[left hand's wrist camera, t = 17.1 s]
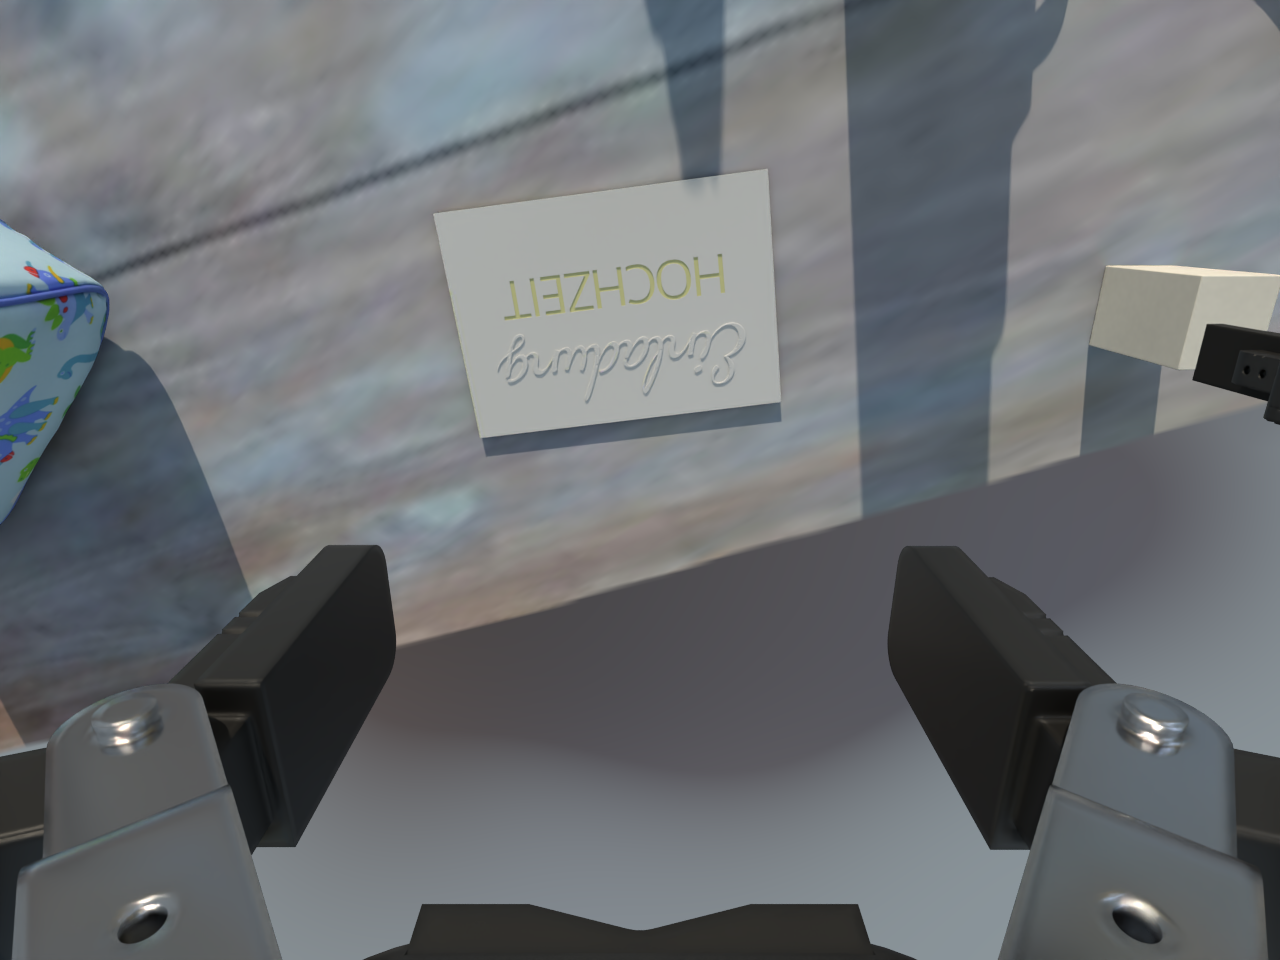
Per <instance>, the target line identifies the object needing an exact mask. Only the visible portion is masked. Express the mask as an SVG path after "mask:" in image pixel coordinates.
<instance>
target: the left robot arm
mask: <svg viewBox="0 0 1280 960" xmlns="http://www.w3.org/2000/svg"><path fill="white" fill-rule="evenodd" d="M395 652H396V632H395V625H394V617H393V610H392V602H391V595H390V588H389V580H388V573H387V566H386V560H385V556H384V553H383V550H382V549H381V547H380V546H378V545H328V546H326V547H324V548H323V549H322V550H321V551H320V552H319V553H318V554H317V555H316V557H315V558H314V559H313V560H312V561H311V562H310V563H309V564H308V565H307V566H306V567H305V568H304V569H303V570H302V571H301V572H300V573H299V574H298V575H297V576H290V577H288V578H286V579H284V580H282V581H281V582H279V583H277V584H275V585H273V586H272V587H270V588H268V589H266V590H264V591H262V592H261V593H259V594H258V595H257V596H256V597H255V598H254V599H253V600H252V601H251V602H250V603H249V604H248V605H247V606H246V607H245V608H244V609H243V610H242V611H241V612H240V613H239V617H235V618H234V619H233V620H232V621H231V622H230V623H229V624H228V625H227V626H225V627H224V628H223V629H222V634H217V635H216V636H215V637H214V638H213V639H212V640H211V641H210V642H209V643H208V644H207V645H206V646H205V647H204V648H203V649H202V650H201V651H200V652H199V653H198V654H197V655H196V656H195V657H194V658H193V659H192V660H191V661H190V662H189V663H188V664H187V665H186V666H185V667H184V668H183V669H182V670H181V671H180V672H179V673H178V674H177V675H176V676H175V677H174V678H173V679H172V680H171V681H170V682H169V683H168V684H155V685H147V686H142V687H137V688H134V689H130V690H126V691H123V692H120V693H117V694H114V695H112V696H109V697H107V698H104V699H102V700H100V701H98V702H96V703H94V704H92V705H90V706H88V707H86V708H84V709H83V710H81V711H80V712H78V713H76V714H75V715H74V716H72V717H71V718H69V719H68V720H67V721H66V722H64V723H63V724H62V725H61V726H60V727H59V728H58V729H57V730H56V731H55V733H54V734H53V735H52V736H51V738H50V740H49V742H48V744H47V748H42V749H38V750H32V751H27V752H22V753H17V754H12V755H7V756H2V757H0V960H282V957H281V954H280V951H279V947H278V944H277V941H276V937H275V934H274V930H273V927H272V924H271V920H270V917H269V914H268V910H267V907H266V904H265V900H264V897H263V894H262V890H261V887H260V883H259V880H258V877H257V873H256V870H255V867H254V863H253V860H252V856H251V855H252V854H253V852H254V850H255V849H256V847H296V845H297V843H298V841H299V840H300V838H301V836H302V834H303V832H304V830H305V829H306V827H307V825H308V823H309V821H310V819H311V818H312V816H313V814H314V812H315V810H316V809H317V807H318V805H319V803H320V801H321V799H322V798H323V796H324V794H325V792H326V790H327V788H328V787H329V785H330V783H331V781H332V779H333V778H334V776H335V774H336V772H337V770H338V768H339V767H340V765H341V763H342V761H343V759H344V757H345V756H346V754H347V752H348V750H349V748H350V747H351V745H352V743H353V741H354V739H355V737H356V736H357V734H358V732H359V730H360V728H361V726H362V725H363V723H364V721H365V719H366V717H367V715H368V714H369V712H370V710H371V708H372V706H373V705H374V703H375V701H376V699H377V697H378V695H379V694H380V692H381V690H382V688H383V686H384V685H385V683H386V681H387V679H388V677H389V675H390V673H391V670H392V667H393V664H394V659H395ZM888 655H889V661H890V666H891V669H892V672H893V675H894V677H895V679H896V681H897V682H898V684H899V686H900V688H901V690H902V691H903V693H904V695H905V697H906V699H907V701H908V702H909V704H910V706H911V708H912V710H913V711H914V713H915V715H916V717H917V719H918V720H919V722H920V724H921V726H922V727H923V729H924V731H925V733H926V735H927V737H928V738H929V740H930V742H931V744H932V746H933V747H934V749H935V751H936V753H937V755H938V756H939V758H940V760H941V762H942V764H943V765H944V767H945V769H946V771H947V773H948V774H949V776H950V778H951V780H952V782H953V783H954V785H955V787H956V789H957V791H958V792H959V794H960V796H961V798H962V800H963V801H964V803H965V805H966V807H967V809H968V810H969V812H970V814H971V816H972V818H973V819H974V821H975V823H976V825H977V827H978V828H979V830H980V832H981V834H982V836H983V837H984V839H985V841H986V843H987V845H988V846H989V848H990V849H991V850H1030V853H1029V857H1028V860H1027V863H1026V866H1025V870H1024V873H1023V877H1022V880H1021V883H1020V887H1019V890H1018V893H1017V897H1016V900H1015V904H1014V907H1013V910H1012V914H1011V917H1010V920H1009V924H1008V927H1007V931H1006V934H1005V937H1004V941H1003V944H1002V947H1001V951H1000V954H999V958H998V960H1280V758H1278V757H1273V756H1268V755H1263V754H1258V753H1253V752H1248V751H1243V750H1237V749H1233V744H1232V742H1231V740H1230V738H1229V736H1228V735H1227V734H1226V733H1225V732H1224V730H1223V729H1222V728H1221V727H1220V726H1219V725H1218V724H1217V723H1215V722H1214V721H1213V720H1212V719H1211V718H1209V717H1208V716H1206V715H1205V714H1204V713H1202V712H1200V711H1199V710H1197V709H1196V708H1194V707H1192V706H1190V705H1188V704H1186V703H1184V702H1182V701H1180V700H1178V699H1175V698H1173V697H1171V696H1168V695H1166V694H1163V693H1160V692H1157V691H1154V690H1150V689H1146V688H1142V687H1137V686H1133V685H1125V684H1117V683H1116V682H1115V681H1114V680H1113V679H1112V678H1111V677H1110V676H1109V675H1107V674H1106V673H1105V672H1104V671H1103V670H1102V669H1101V668H1100V667H1099V666H1098V665H1097V664H1096V663H1095V662H1094V661H1093V660H1092V659H1091V658H1090V657H1089V656H1088V655H1087V654H1086V653H1085V652H1084V651H1083V650H1082V649H1081V648H1080V647H1079V646H1078V645H1077V644H1076V643H1075V642H1074V641H1073V640H1072V639H1071V638H1070V637H1068V636H1064V635H1063V631H1062V630H1061V629H1060V628H1059V627H1058V626H1057V625H1056V624H1055V623H1054V622H1053V621H1052V620H1051V619H1047V618H1046V614H1045V613H1044V612H1043V611H1042V610H1041V609H1040V608H1039V607H1038V606H1037V605H1036V604H1035V603H1034V602H1033V601H1032V600H1031V599H1030V598H1029V597H1028V596H1026V595H1025V594H1024V593H1022V592H1020V591H1018V590H1016V589H1015V588H1013V587H1011V586H1009V585H1007V584H1005V583H1004V582H1002V581H1000V580H998V579H996V578H994V577H987V576H986V575H985V574H984V573H983V572H982V571H981V570H980V569H979V568H978V567H977V565H976V564H975V563H974V562H973V561H972V560H971V559H970V558H969V557H968V556H967V555H966V554H965V553H964V552H963V551H962V550H961V549H960V548H959V547H957V546H906V547H905V548H904V549H903V550H902V552H901V554H900V557H899V560H898V566H897V573H896V581H895V588H894V595H893V603H892V610H891V617H890V624H889V631H888ZM364 960H916V959H914V958H912V957H909V956H906V955H904V954H901V953H898V952H895V951H893V950H890V949H887V948H884V947H881V946H877V945H873V944H870V941H869V938H868V934H867V931H866V928H865V925H864V922H863V919H862V916H861V913H860V909H859V906H858V904H750V905H746V906H742V907H738V908H734V909H730V910H726V911H722V912H718V913H714V914H710V915H706V916H702V917H698V918H694V919H690V920H686V921H682V922H678V923H674V924H670V925H666V926H662V927H659V928H654V929H650V930H631V929H626V928H622V927H618V926H614V925H610V924H606V923H602V922H598V921H594V920H590V919H586V918H582V917H578V916H574V915H570V914H566V913H562V912H558V911H554V910H550V909H546V908H542V907H538V906H534V905H530V904H422V906H421V909H420V913H419V916H418V919H417V922H416V925H415V928H414V931H413V935H412V938H411V941H410V944H407V945H403V946H399V947H396V948H393V949H390V950H387V951H385V952H382V953H379V954H376V955H374V956H371V957H368V958H366V959H364Z"/></svg>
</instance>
